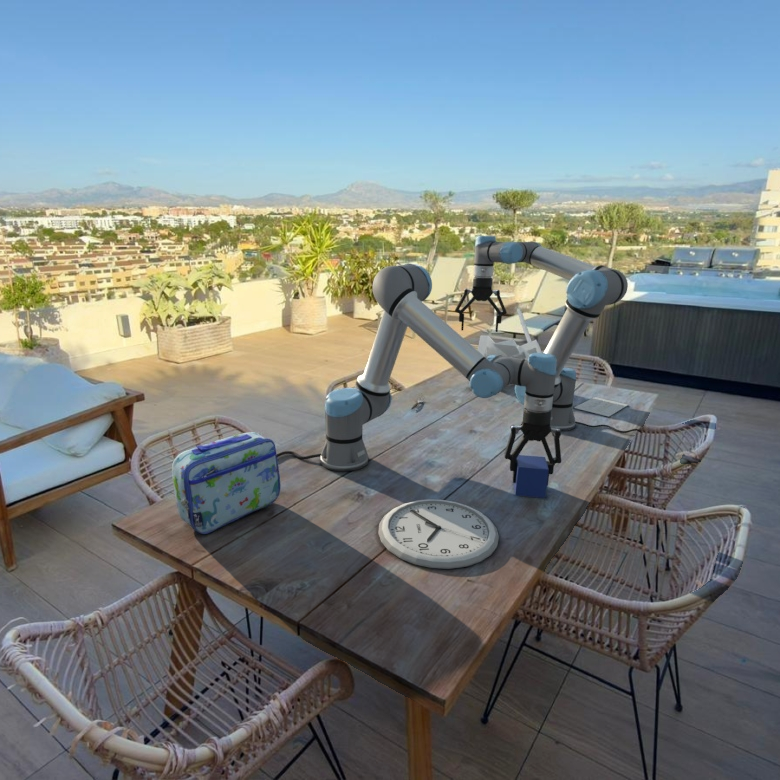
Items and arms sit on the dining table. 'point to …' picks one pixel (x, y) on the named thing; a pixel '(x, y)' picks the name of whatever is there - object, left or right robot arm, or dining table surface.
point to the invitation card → (601, 406)
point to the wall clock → (438, 534)
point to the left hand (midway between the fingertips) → (529, 482)
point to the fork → (418, 402)
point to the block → (531, 476)
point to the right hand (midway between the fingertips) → (479, 330)
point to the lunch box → (225, 480)
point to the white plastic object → (509, 345)
